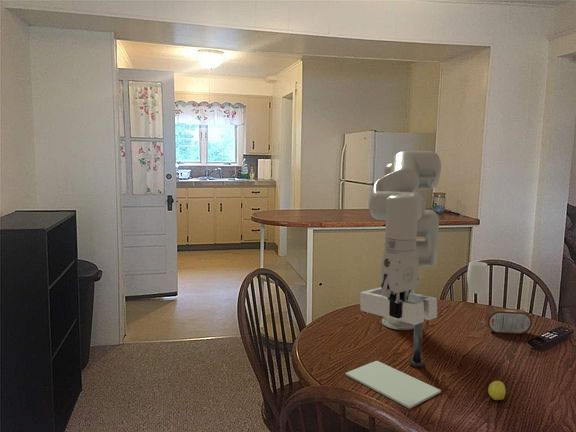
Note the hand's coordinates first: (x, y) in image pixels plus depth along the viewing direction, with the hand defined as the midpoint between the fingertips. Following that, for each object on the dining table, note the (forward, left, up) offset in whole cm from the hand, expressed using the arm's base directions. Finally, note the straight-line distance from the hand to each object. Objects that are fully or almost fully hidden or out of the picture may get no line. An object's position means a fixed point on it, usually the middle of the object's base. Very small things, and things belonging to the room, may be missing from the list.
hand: (397, 315), depth 119 cm
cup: (-19, +71, -21) cm, 76 cm away
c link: (-3, +4, -1) cm, 5 cm away
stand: (-7, +19, -21) cm, 29 cm away
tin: (-3, +65, -21) cm, 68 cm away
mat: (-4, +4, -21) cm, 22 cm away
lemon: (+17, +20, -21) cm, 34 cm away
